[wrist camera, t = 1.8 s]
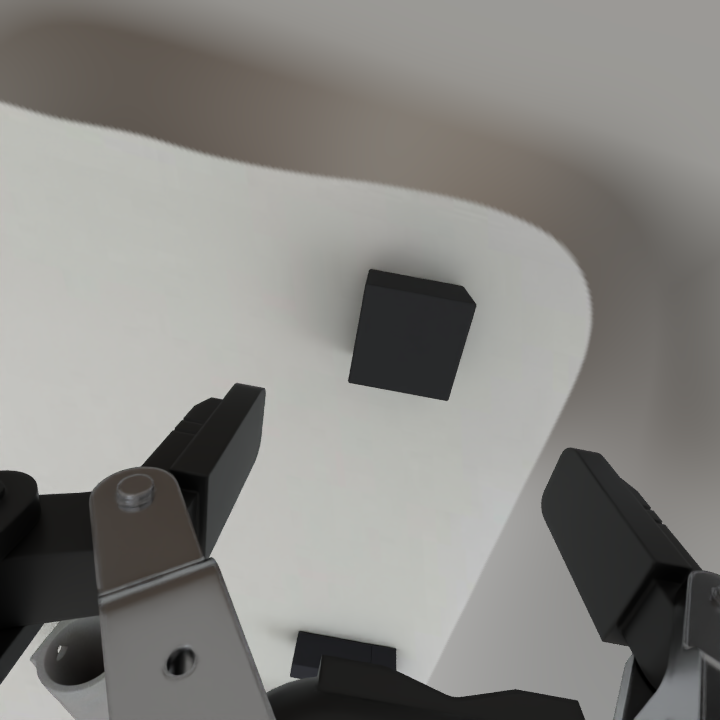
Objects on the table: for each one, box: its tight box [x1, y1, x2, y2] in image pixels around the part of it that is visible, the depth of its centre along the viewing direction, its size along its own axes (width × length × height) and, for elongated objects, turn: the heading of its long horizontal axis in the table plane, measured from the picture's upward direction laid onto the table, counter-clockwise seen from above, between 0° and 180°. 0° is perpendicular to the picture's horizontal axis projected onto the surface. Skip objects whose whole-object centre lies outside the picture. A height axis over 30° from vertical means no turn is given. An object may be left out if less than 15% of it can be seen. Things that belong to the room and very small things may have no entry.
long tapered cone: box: [30, 616, 109, 720], centre depth 36 cm, size 6×6×19 cm
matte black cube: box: [348, 269, 476, 401], centre depth 20 cm, size 5×5×4 cm
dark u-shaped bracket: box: [290, 632, 396, 679], centre depth 34 cm, size 10×8×2 cm
